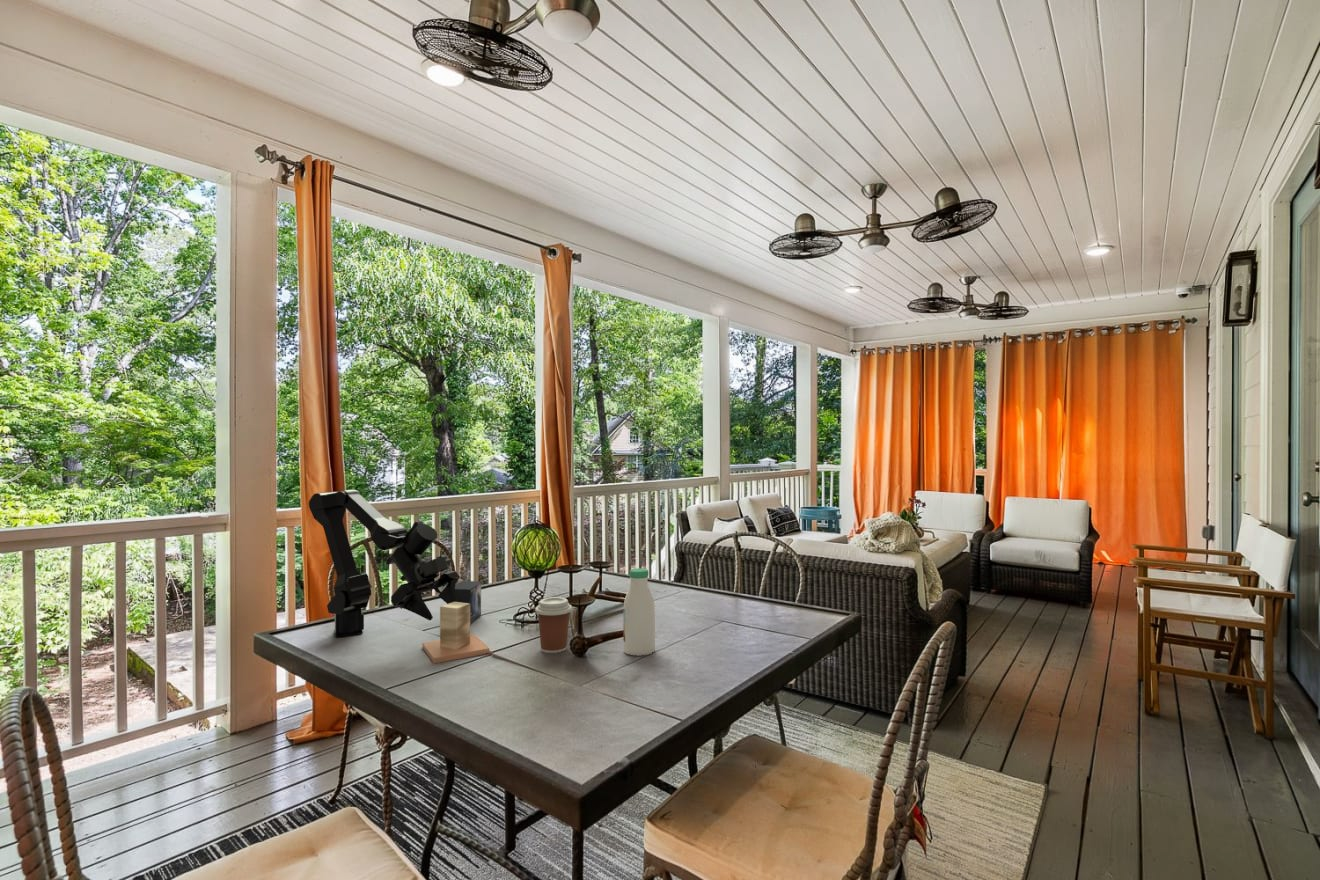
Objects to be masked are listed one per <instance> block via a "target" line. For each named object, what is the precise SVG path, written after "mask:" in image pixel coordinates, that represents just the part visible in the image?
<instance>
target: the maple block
mask: <svg viewBox="0 0 1320 880" xmlns="http://www.w3.org/2000/svg"><path fill="white" fill-rule="evenodd" d="M470 635H471V624H470V604H469V603H461V602H452V603H449V604H447V603H446V604H444V605H440V606H439V640H440V647H441V648H447V649H453V650H457V649H460V648H462V647H464V646H466V645H469V644H470Z"/></svg>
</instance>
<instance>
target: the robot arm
mask: <svg viewBox="0 0 1320 880" xmlns="http://www.w3.org/2000/svg"><path fill="white" fill-rule="evenodd" d="M308 508H309V510H310V513H311V515H312V518H313V519H314V520H315V521H316V522H318V523H319V524H320V525H321V526H322V528H323V530H324V531H323V532H324V535H325V539H326V543H327V546H328V548H329V551H330V556H331V559H332V564H333V567H334V571H335V573H336V580H335V584H334V586H333V590H334V596H333V597H332V599H331V600H330V601H329V602H328V604H326V605H327V606H326V608H327V611H328V614H333V615H334V629H333V634H334V637H335V638H343V637H349V636H354V635H355V636H356V635H361V634H363V632H364V631H363V630H364V629H365V614H364V613H363V612H362V611H363V610H362V609H364V608H368V604H369V601H370V598H371V595H372V587H373V586H372V584H371V582H370V579H369V575H368V573H361V572H360V571H359V570H358V569H357V565H356V561H355V558H354V555H353V552H352V547H351V543H350V541H349V538H348V534H347V531H346V528H345V524H344V518H345V514H346V511H348V513H350V514H351V515H352V516H353V517H355V519H356V520H358V521H359V523H360V524H361V525H363V527H365V528H366V529H367V530H368V532H370V533H369V534H370V539H371V541H372V542H373V543H374V545H375V546H376V548H377V549H378V550H380V551H388V550H392V549H393V552H392V553H387V559H386V565H387V566H389V565H393V564H394V565H395V566H396V567H397V569H398V570H399V572H400V573H401V575H402V576H400V580H401V581H402V582H405V581H406V583H402V584H400V585H399V586H398V588H397V589H396V590H394V591H395V592H393V594H392V595H391V596H390V602H391V604H392V605H393V607H394V608H399V609H404V610H407V611H409V612H412V613H414V614H416V615H418V616H420V617H422V618H424V619H425V620H428V621H432V620H433V618H434V617H433V614H432V613H431V610H430V609H429V608H428V606H427V604H426V603H425V601H424V600H423V595H422V594H423V593H425V592H428V591H432V590H434V592H435V593H438V595H437V596H438V597H439V598H440V599H441V600H442V601H444V603H446V604H449V603H452V602H458V601H457V597H456V593H455V585H456V584H458V583H459V579H460V578H461V576H460V574H458V572H457V571H455V570H450V571H447V570H448V569H449V566H451V563H452V562H451V560H450V558H449V556H447V554H445V553H444V554H440V555H439V556H436V558H433V559H431V560H429V561H428V560H423V559H422V557H420V555H423V554H425V553H426V552H427V550H428V549H429V548H430V547H431V545H433V543H434V542H435V541H436V540H437V538H438V532H437V531H436V529H435V528H433V527H432V526H430V525H429V524H427V523H424V522H423V521H422V520H418V521H417V520H416V521H414V523H413V524H412V526H411V527H410V529H409V530H407V528H406V527H405V526H403V525H401V524H400V523H398V522H397V521H394V520H391V519H388V518H386V517H385V516H383V515H382V513H380V512H379V511H378V510H377V509H376V508H375V507H374V506H373V505H372V504H371V503H370V502H368V500H366V499H365V498H364V496H362V495H361V492H360V491H359V490H356V489H345V490H340V491H328V492H327V491H326V492H316V493H314V494H312V496H311V497H310V499H309V500H308ZM444 570H446V572H443V571H444ZM441 572H443V573H442V574H441V575H440V574H439V573H441ZM438 577H439V578H438ZM436 578H438V579H437V580H436Z"/></svg>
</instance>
